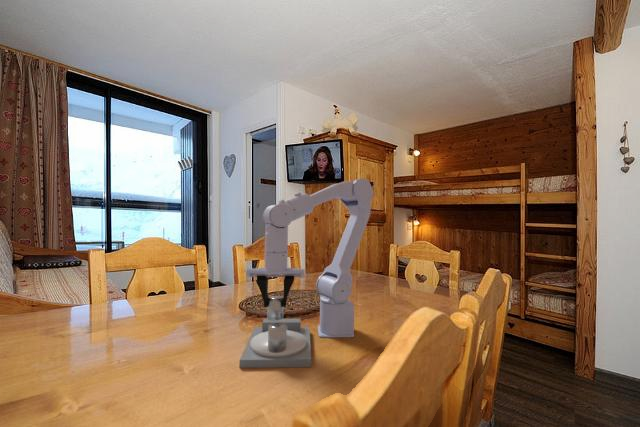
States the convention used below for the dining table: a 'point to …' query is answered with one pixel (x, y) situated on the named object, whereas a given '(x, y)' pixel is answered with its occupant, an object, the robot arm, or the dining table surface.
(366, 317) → the dining table surface
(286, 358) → the scale
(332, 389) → the dining table surface
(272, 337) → the cylinder
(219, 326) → the dining table surface
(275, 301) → the cylinder
